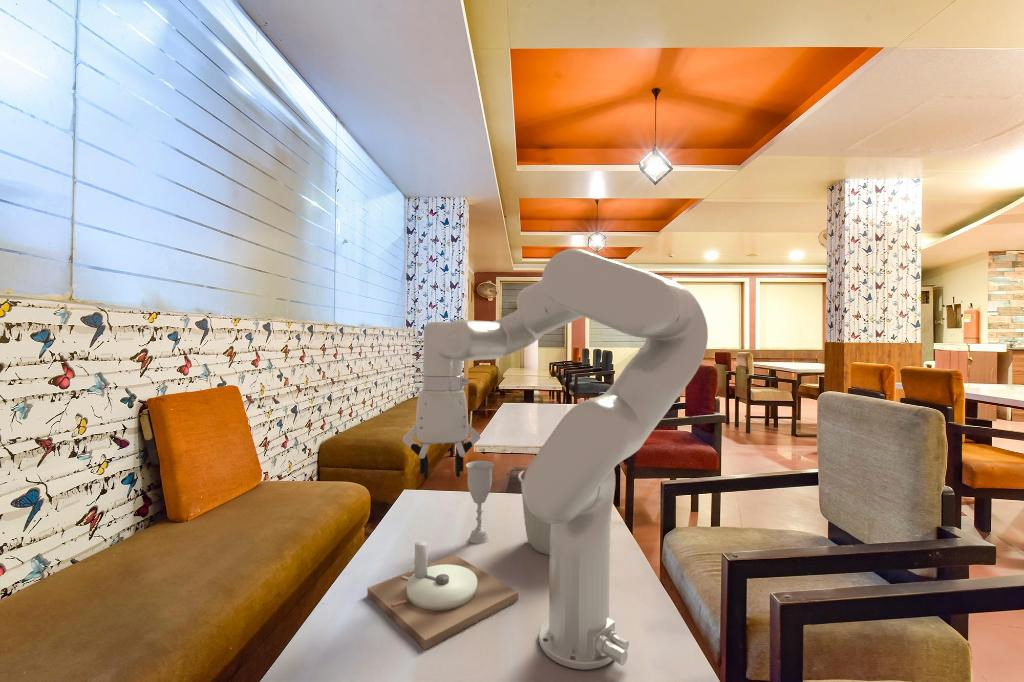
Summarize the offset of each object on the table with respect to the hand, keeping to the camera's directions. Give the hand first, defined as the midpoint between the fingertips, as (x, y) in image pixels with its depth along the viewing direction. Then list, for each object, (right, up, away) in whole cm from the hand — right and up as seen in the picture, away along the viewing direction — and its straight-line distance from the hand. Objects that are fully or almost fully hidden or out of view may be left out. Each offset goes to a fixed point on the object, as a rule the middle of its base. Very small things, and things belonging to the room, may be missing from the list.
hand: (441, 475), depth 90 cm
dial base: (+1, -22, -5) cm, 22 cm away
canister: (+24, -22, +17) cm, 37 cm away
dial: (+1, -20, -5) cm, 21 cm away
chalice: (+6, -22, +20) cm, 30 cm away
